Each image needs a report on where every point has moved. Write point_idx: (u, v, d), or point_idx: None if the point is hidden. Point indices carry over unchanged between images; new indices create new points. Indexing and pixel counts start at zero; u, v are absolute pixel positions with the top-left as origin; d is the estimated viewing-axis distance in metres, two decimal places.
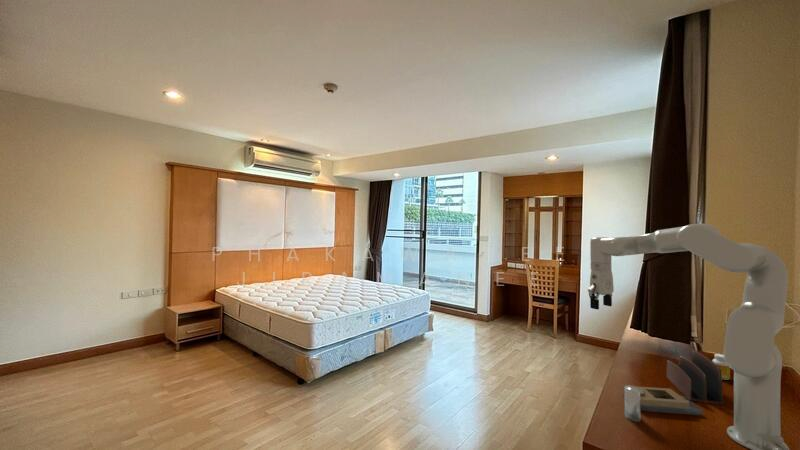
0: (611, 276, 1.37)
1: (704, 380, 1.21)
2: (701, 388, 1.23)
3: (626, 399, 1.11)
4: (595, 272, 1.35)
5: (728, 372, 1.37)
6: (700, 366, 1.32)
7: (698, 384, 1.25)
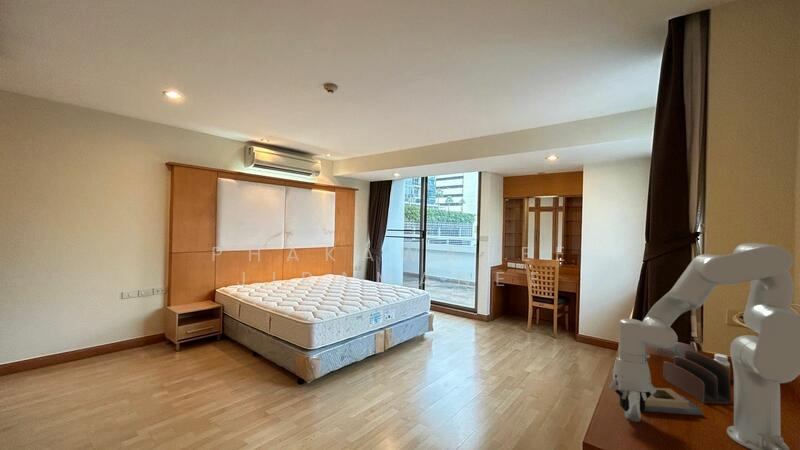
0: None
1: (715, 381, 1.20)
2: (710, 389, 1.22)
3: None
4: None
5: None
6: (698, 365, 1.32)
7: (705, 385, 1.24)
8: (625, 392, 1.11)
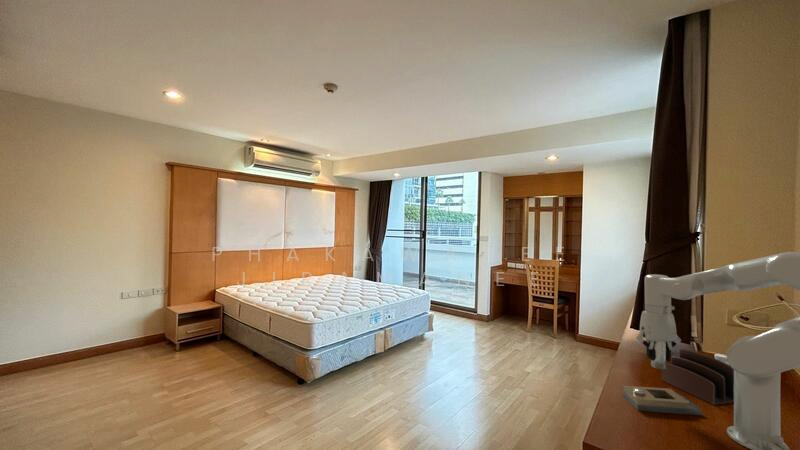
0: None
1: (722, 381, 1.20)
2: (715, 389, 1.22)
3: None
4: None
5: None
6: None
7: None
8: (652, 342, 1.18)
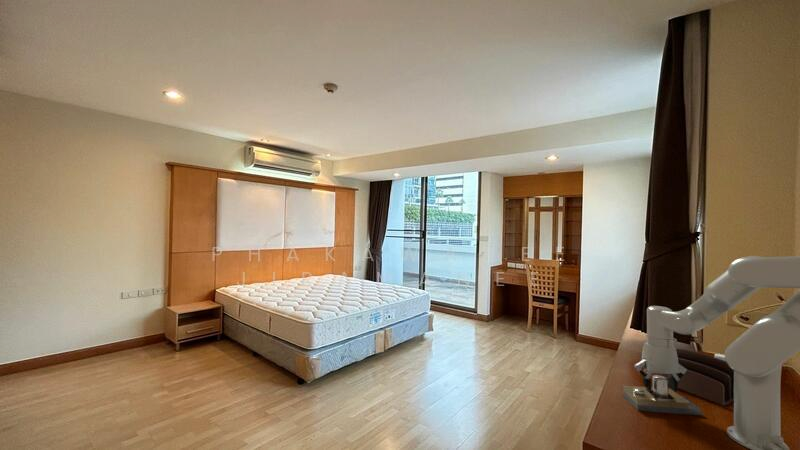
0: None
1: (728, 380, 1.21)
2: None
3: (654, 388, 1.19)
4: None
5: None
6: None
7: None
8: (650, 373, 1.18)
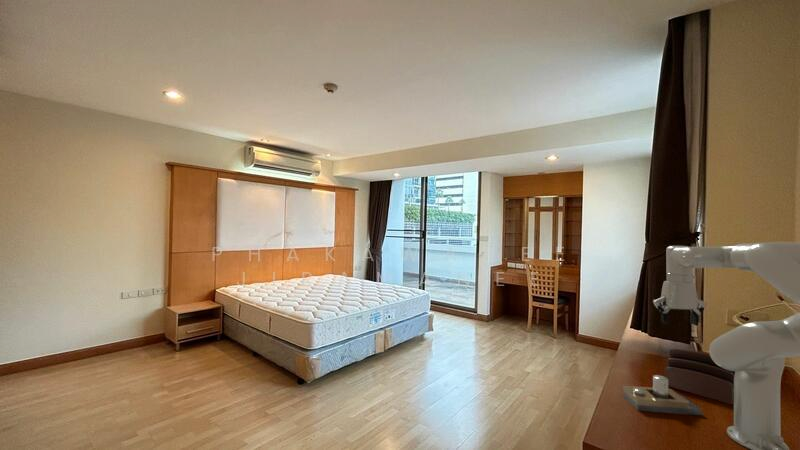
0: None
1: (731, 378, 1.22)
2: None
3: (655, 388, 1.19)
4: None
5: None
6: None
7: None
8: (669, 308, 1.23)
